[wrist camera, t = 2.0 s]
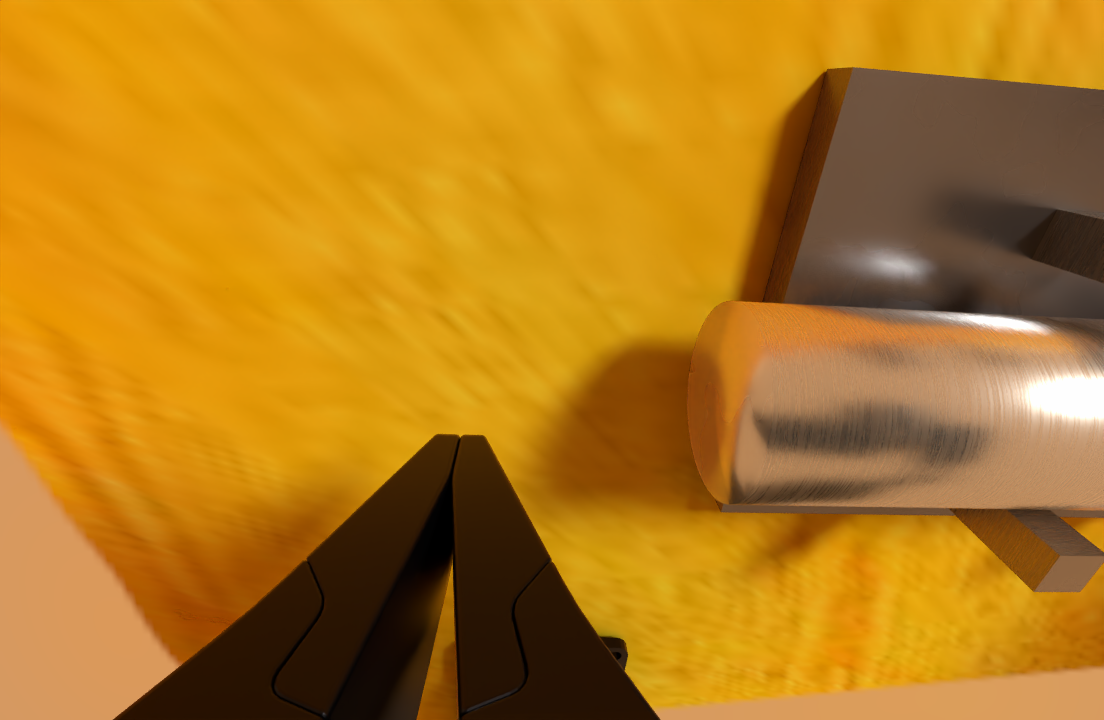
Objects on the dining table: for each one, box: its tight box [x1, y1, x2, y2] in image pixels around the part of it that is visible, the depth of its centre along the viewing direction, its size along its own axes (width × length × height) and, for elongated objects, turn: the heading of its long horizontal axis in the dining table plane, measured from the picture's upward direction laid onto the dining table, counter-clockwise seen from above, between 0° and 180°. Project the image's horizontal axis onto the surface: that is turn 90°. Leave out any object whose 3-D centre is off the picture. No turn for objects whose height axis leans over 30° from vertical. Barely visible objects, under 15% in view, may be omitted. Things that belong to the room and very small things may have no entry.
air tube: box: [687, 301, 1104, 511], centre depth 12 cm, size 5×16×5 cm, turn 86°
